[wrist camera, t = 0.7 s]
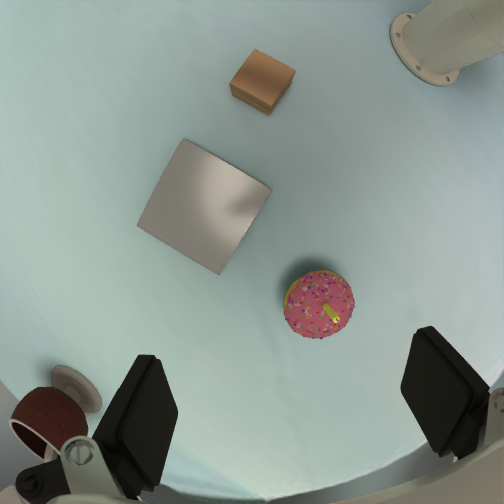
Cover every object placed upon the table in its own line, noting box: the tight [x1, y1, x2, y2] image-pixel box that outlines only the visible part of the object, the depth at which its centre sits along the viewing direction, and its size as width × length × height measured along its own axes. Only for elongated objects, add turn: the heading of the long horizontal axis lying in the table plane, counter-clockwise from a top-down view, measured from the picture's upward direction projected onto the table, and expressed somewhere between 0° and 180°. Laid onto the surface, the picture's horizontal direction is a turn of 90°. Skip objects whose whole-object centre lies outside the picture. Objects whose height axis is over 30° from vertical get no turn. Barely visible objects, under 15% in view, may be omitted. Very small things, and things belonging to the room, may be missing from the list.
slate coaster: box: [137, 139, 272, 275], centre depth 33 cm, size 12×12×1 cm
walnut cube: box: [229, 49, 296, 115], centre depth 27 cm, size 5×5×5 cm
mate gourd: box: [9, 365, 102, 463], centre depth 33 cm, size 16×14×20 cm
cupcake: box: [284, 270, 355, 339], centre depth 30 cm, size 9×8×12 cm
